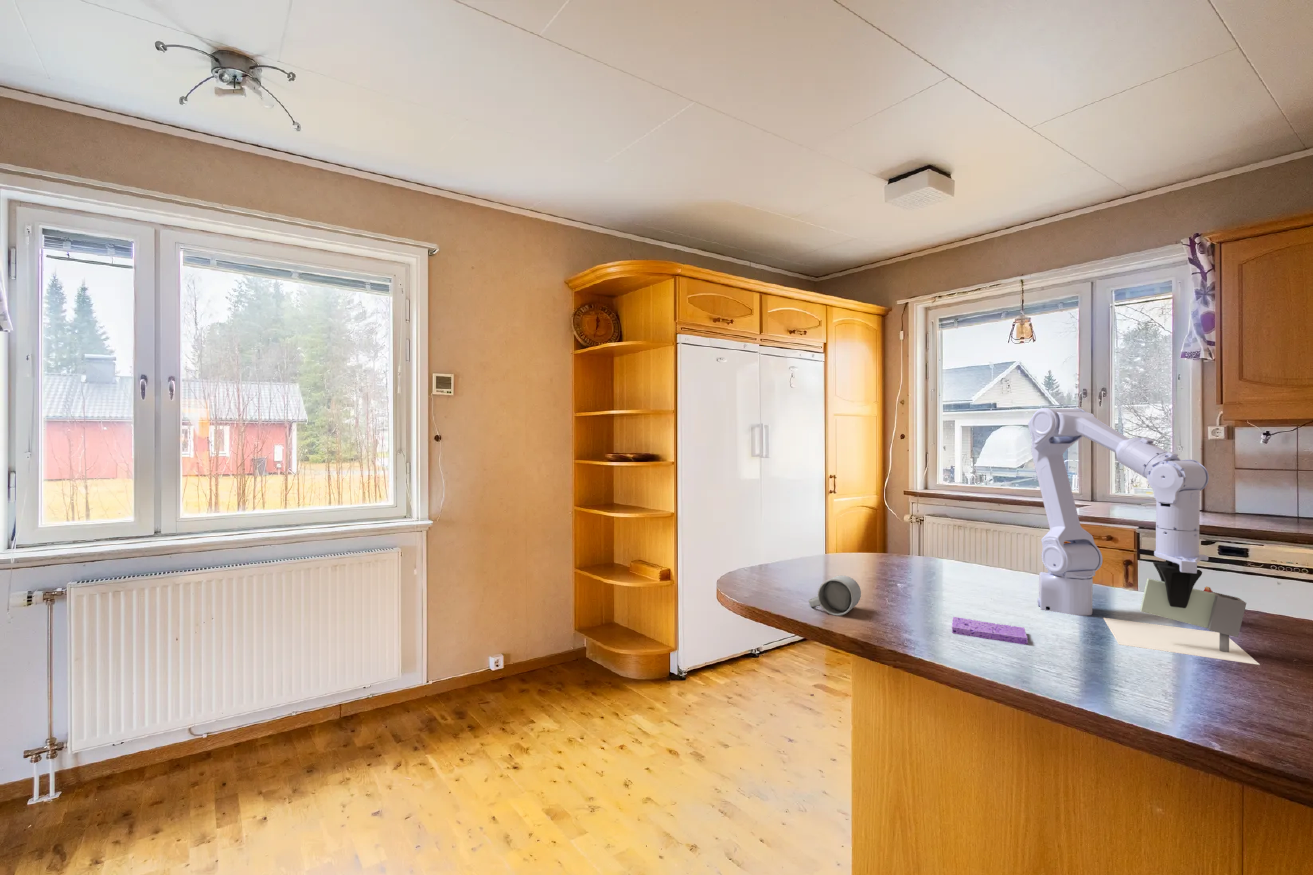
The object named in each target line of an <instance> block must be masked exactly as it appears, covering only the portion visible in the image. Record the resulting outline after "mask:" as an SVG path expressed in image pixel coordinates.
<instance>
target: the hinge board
mask: <svg viewBox="0 0 1313 875" xmlns="http://www.w3.org/2000/svg"><path fill="white" fill-rule="evenodd" d="M1102 619H1103V620H1104V621H1105V622H1104V623H1106V625H1107V627H1108V629H1109V630H1110V632H1111V633H1112V635H1113V636H1114V638H1115V641H1116V642H1117V644H1118V645H1120V646H1126V647H1132V648H1138V649H1148V650H1153V651H1161V652H1169V653H1173V654H1174V653H1176V654H1180V655H1181V654H1182V655H1189V656H1195V657H1203V658H1210V659H1215V660H1223V661H1229V662H1230V661H1231V662H1237V663H1244V664H1251V665H1258V666H1261V664H1260V663H1259V662H1258V661H1256V659H1254V658H1253V657H1252V656H1251V655H1250V654H1248V652H1246V651H1245V650H1244V649H1243V648H1241V646H1239V645H1238V644H1237V643H1236V642H1235V641H1233V639H1231V638H1230V635H1226V634H1222V633H1218V632H1214V631H1210V630H1203V629H1194V628H1187V627H1186V628H1185V627H1179V626H1172V625H1171V626H1170V625H1162V624H1155V623H1150V622H1149V623H1148V622H1139V621H1131V620H1125V619H1116V618H1108V617H1102Z"/></svg>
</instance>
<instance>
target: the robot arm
mask: <svg viewBox="0 0 1313 875" xmlns="http://www.w3.org/2000/svg"><path fill="white" fill-rule="evenodd" d="M1027 427H1028V429H1029V434H1030V437H1031V438H1030V439H1031V444H1030V445H1031V448H1030V451H1031V452H1030V453H1031V457H1032V460H1033V464H1034V465H1033V466H1034V468H1035V472H1036V477H1037V482H1038V485H1039V490H1040V493H1041V497H1042V502H1043V506H1044V512H1045V513H1046V514H1045V515H1046V518H1047V522H1048V528H1049V531H1047V533H1046V534H1045V535H1044V536H1042V538H1041V539H1040V540H1041V541H1040V542H1041V546H1042V550H1041V561H1042V563H1043V566H1044V567H1045V569H1046V570H1047V572H1045V571H1040V572H1039V574H1038V576H1039V577H1038V597H1037V607H1038V608H1040V610H1041V611H1044V612H1045V611H1048V612H1055V613H1061V614H1067V615H1073V616H1085V617H1086V616H1091V615H1092V614H1093V589H1094V588H1093V581H1094V580H1093V577H1095V576H1096V572H1097V571H1098V570H1099V569H1100V568H1101V567H1102V564H1103V559H1104V558H1103V554H1102V551H1101V550H1100V548H1099V547H1098V546H1097V545H1096V542H1095V540H1094V537H1093V536H1094V535H1092V534H1091V533H1089V531H1087V530H1086V529H1084V528H1083V527H1082V526H1081V523H1080V519H1079V515H1078V514H1079V513H1078V511H1077V506H1076V504H1075V498H1074V495H1073V490H1072V486H1071V483H1070V479H1069V476H1068V471H1067V467H1066V463H1065V460H1064V459H1065V458H1064V457H1063V456H1064V453H1065V452H1066V451H1067V450H1068V449H1069V448H1070V447H1072V446H1073V445H1074V444H1075V443H1077V442H1078V441H1079V440H1081V439H1082V438H1083V437H1084V438H1085V439H1088V441H1089V440H1090V441H1092V442H1094V443H1096V444H1097V445H1099V446H1101V447H1103V448H1106V449H1107V450H1109V451H1111V452H1113V453H1115V454H1116V460H1117V461H1118V463H1120V465H1123V466H1125V467H1126V468H1128V469H1129V470H1131V471H1133V472H1135V473H1137V474H1139V475H1140V476H1142V477H1143V478H1145V479H1146V480H1147V482H1148V485H1149V487H1150V488H1151V489H1152V491H1153V499H1155V504H1156V506H1155V550H1154V551H1153V556H1154V557H1156V558H1159V559H1162V560H1164V561H1163V562H1162V561H1154V562H1153V561H1152V564H1153V566H1154V568H1155V569H1156V572H1157V573H1158V575H1159V578H1160V581H1163V582H1165V585H1166V591H1167V597H1168V601H1169V604H1170V606H1171V607H1179V608H1186V607H1187V604H1188V602H1189V598H1190V595H1191V592H1192V589H1194V586H1195V585H1196V583H1197V581H1198V580H1199V578H1201V576H1202V575H1203V571H1202V570H1200V569H1198V563H1199V562H1200V561H1201V562H1202V561H1209V556H1208V555H1207V554H1200V510H1201V508H1200V507H1201V505H1200V501H1201V498H1200V496H1201V495H1200V492H1201V491H1202V490H1204V489H1205V488H1206V487H1207V485H1208V484H1209V480H1210V475H1209V472H1208V469H1207V468H1206V467H1205V466H1204V465H1203V464H1202V463H1200V462H1199V461H1198V460H1197V459H1191V458H1189V459H1180V457H1178V456H1179V455H1178V453H1176V452H1173V451H1168V450H1165V449H1163V448H1161V447H1160V446H1158V445H1155V444H1154V442H1155V441H1154V440H1153V439H1151V438H1150V437H1133V438H1129V437H1127V436H1126V435H1124V434H1122V433H1120V432H1119V431H1118V430H1116V429H1114V428H1113V427H1111V426H1109V425H1108V424H1106V423H1104V422H1103V421H1101V420H1100V419H1099V418H1097V417H1095V414H1094V413H1091V412H1088V411H1086V410H1085V409H1083V408H1079V407H1077V408H1076V407H1075V408H1048V407H1042V408H1039V409H1037V410H1036V411H1035V412H1034V413H1033V415H1032V416H1031V418H1030V419H1029V421H1028V423H1027ZM1066 542H1067V543H1066ZM1048 608H1049V609H1048Z"/></svg>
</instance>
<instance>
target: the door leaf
mask: <svg viewBox="0 0 1313 875" xmlns="http://www.w3.org/2000/svg"><path fill="white" fill-rule="evenodd" d="M1144 586H1145V587H1144V590H1143V595H1142V597H1141V598H1142V599H1141V603H1140V608H1139V611H1140V613H1141V612H1142V613H1145V614H1148V615H1154V616H1158V617H1161V618H1165V619H1168V620H1173V621H1178V622H1181V623H1183V624H1184V623H1185V624H1189V625H1192V626H1196V627H1201V628H1205V629H1207V630H1208V631H1211V632H1218V633H1222V634H1226V635H1229V637H1234V638H1239V635H1240V632H1241V631H1240V630H1241V627H1242V623H1243V619H1244V614H1245V611H1246V606H1247V602H1246V601H1244V600H1243V599H1241V598H1239V597H1236V596H1233V595H1228V594H1223V593H1219V592H1214V591H1213V592H1206V591H1204V590H1201V589H1196V588H1193V589H1192V592H1191V595H1190V598H1189V602H1188V604H1187V607H1186V608H1179V607H1171V606H1170V604H1169V601H1168V597H1167V591H1166V585H1165V582H1163V581H1161V580H1158V579H1154V578H1149V577H1147V578H1146V582H1145V585H1144Z"/></svg>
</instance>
